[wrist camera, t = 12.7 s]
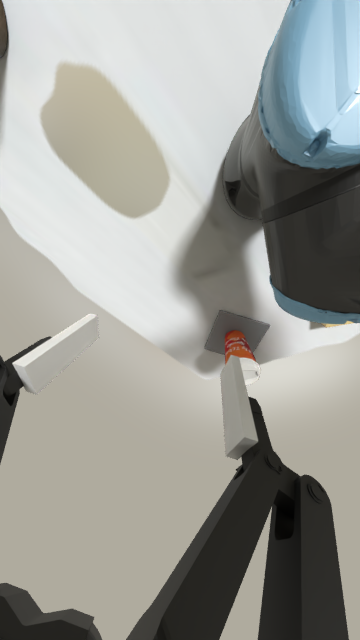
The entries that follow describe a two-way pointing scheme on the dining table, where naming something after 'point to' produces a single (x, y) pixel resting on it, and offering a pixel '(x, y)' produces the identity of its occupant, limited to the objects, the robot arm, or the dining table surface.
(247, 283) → the dining table surface
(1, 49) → the pillar candle
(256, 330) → the slate mat
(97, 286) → the dining table surface
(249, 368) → the paper cup
